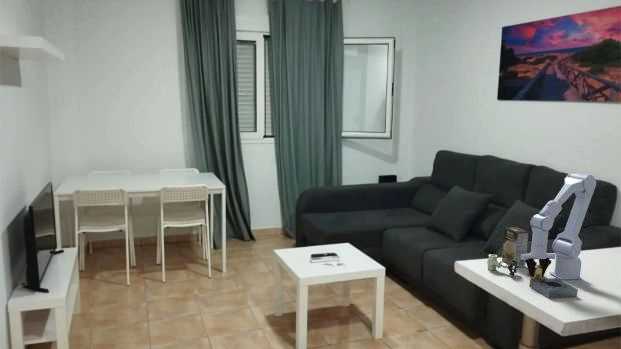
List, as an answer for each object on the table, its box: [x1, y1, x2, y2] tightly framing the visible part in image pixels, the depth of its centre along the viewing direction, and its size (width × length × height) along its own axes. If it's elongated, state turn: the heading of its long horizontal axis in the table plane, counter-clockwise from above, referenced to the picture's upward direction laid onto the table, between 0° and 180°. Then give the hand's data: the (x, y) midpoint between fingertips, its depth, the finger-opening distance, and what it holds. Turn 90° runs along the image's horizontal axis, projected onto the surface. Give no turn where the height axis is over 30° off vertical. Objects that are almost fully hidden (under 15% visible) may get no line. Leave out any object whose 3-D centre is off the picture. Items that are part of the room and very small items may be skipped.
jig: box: [528, 277, 579, 299], centre depth 196 cm, size 12×12×3 cm
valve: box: [486, 253, 519, 277], centre depth 217 cm, size 7×7×12 cm
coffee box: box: [501, 226, 529, 268], centre depth 228 cm, size 9×6×16 cm
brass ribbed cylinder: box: [530, 264, 543, 279], centre depth 208 cm, size 4×4×6 cm
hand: (536, 276), depth 208 cm, fingers closed on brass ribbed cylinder, 4 cm apart
